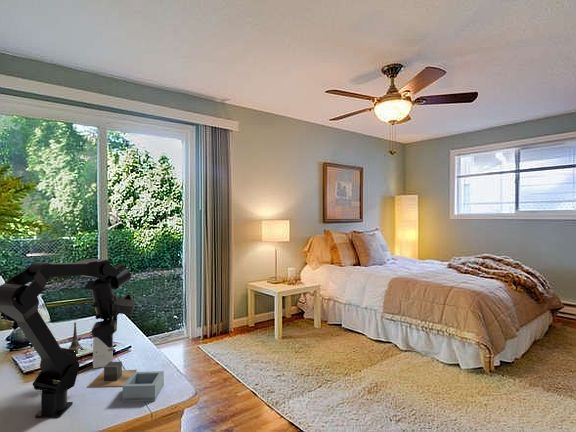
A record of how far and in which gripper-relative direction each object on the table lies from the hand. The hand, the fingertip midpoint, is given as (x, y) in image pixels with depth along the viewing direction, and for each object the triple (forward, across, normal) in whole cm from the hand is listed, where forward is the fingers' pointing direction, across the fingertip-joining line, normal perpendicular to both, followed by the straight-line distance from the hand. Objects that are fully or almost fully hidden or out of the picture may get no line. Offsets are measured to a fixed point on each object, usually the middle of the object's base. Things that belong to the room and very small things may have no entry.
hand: (112, 339), depth 114 cm
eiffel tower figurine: (+16, +22, +19) cm, 33 cm away
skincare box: (+14, +8, +7) cm, 17 cm away
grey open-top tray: (+10, -17, -9) cm, 22 cm away
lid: (+12, -5, +1) cm, 13 cm away
